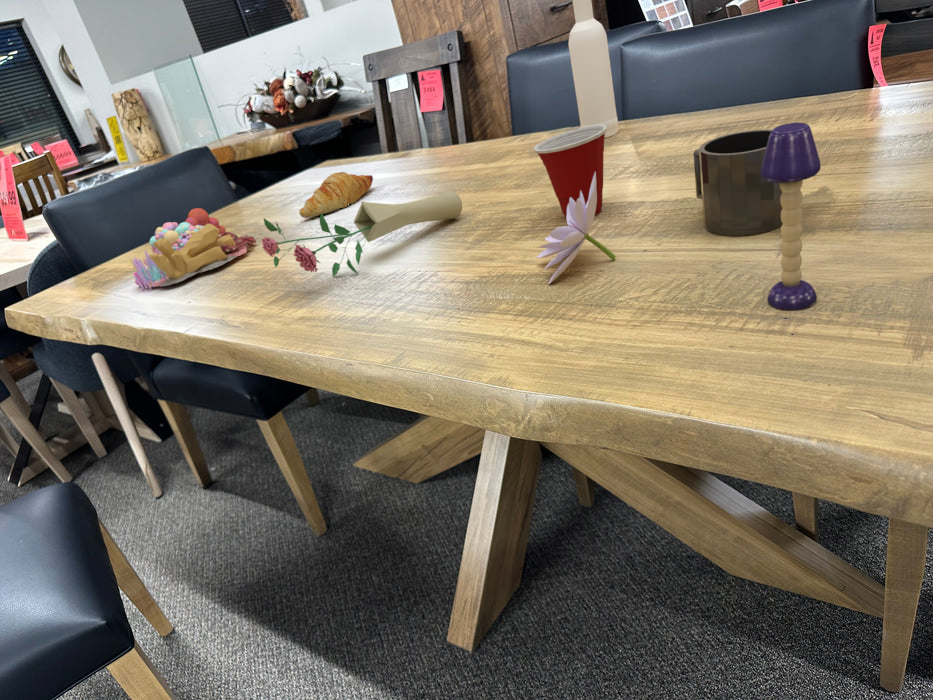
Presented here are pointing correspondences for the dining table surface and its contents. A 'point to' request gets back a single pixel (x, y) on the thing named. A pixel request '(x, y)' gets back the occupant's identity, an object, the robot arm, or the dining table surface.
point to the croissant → (336, 193)
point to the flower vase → (372, 226)
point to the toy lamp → (791, 207)
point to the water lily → (573, 232)
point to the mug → (736, 185)
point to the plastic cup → (574, 163)
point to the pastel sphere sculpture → (188, 250)
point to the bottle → (592, 70)
